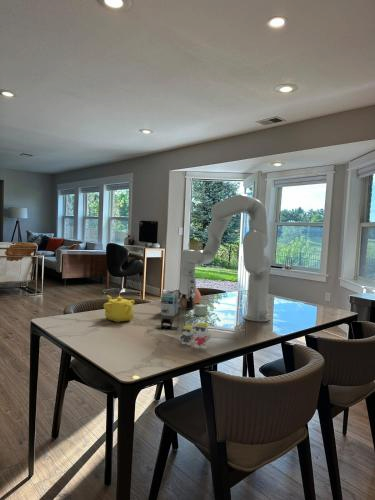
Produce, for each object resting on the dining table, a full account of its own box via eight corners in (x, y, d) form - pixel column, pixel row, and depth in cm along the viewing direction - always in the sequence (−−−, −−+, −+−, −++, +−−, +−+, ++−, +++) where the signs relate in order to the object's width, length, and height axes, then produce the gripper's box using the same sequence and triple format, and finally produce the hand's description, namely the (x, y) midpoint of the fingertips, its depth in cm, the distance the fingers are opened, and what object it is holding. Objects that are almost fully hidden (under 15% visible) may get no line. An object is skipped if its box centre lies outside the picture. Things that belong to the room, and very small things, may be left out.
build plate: (149, 329, 147) (150, 318, 147) (154, 325, 154) (155, 315, 154) (179, 332, 145) (180, 321, 144) (183, 328, 152) (183, 317, 152)
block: (194, 308, 188) (194, 299, 188) (183, 309, 186) (184, 299, 185) (188, 306, 194) (189, 297, 194) (178, 307, 191) (179, 297, 191)
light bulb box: (174, 316, 169) (175, 294, 169) (160, 315, 170) (161, 293, 170) (178, 311, 180) (179, 290, 179) (165, 310, 181) (166, 289, 180)
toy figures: (178, 342, 130) (179, 320, 129) (184, 340, 133) (185, 318, 133) (206, 350, 123) (207, 326, 123) (212, 347, 127) (214, 323, 126)
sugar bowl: (178, 304, 198) (179, 286, 197) (180, 300, 212) (181, 282, 211) (201, 305, 197) (201, 287, 197) (200, 301, 211) (201, 283, 211)
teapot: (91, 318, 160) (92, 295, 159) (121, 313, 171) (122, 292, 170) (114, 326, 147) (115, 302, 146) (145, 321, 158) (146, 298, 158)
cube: (206, 315, 176) (207, 306, 175) (198, 315, 174) (199, 306, 173) (202, 313, 180) (202, 304, 179) (194, 313, 178) (194, 304, 177)
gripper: (202, 274, 183) (200, 309, 184) (186, 271, 198) (185, 303, 199) (189, 275, 179) (187, 310, 180) (174, 271, 195) (172, 304, 195)
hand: (186, 306), depth 190 cm, fingers closed on block, 6 cm apart
